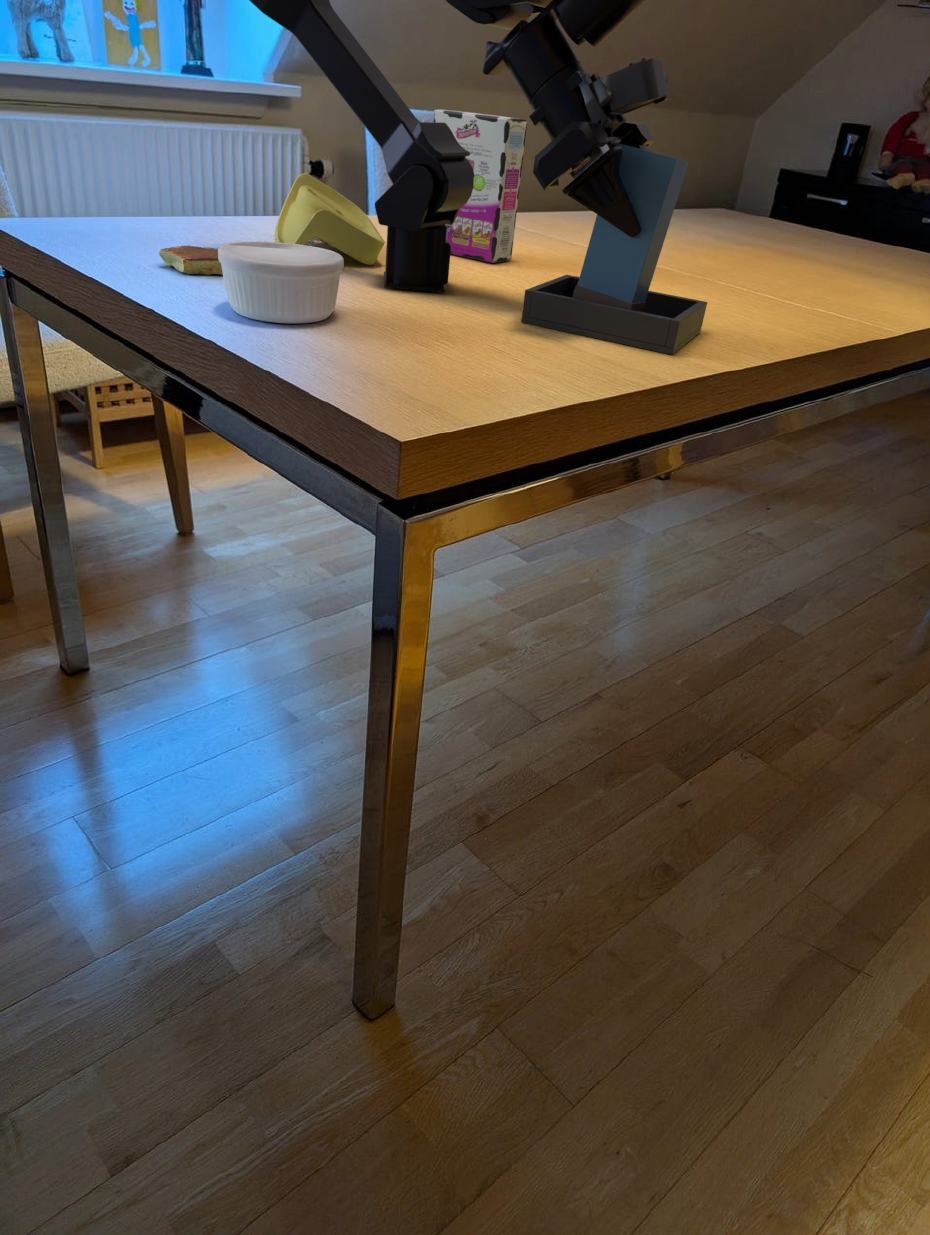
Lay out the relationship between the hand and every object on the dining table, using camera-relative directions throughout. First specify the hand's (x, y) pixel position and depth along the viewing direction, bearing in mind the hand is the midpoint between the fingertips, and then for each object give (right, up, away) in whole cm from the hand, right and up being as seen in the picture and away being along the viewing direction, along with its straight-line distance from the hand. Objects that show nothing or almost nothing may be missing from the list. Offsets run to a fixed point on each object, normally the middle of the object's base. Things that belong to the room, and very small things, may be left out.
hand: (643, 232), depth 85 cm
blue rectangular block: (-3, -6, +4) cm, 8 cm away
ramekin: (-34, -9, -3) cm, 35 cm away
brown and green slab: (-44, 0, +10) cm, 45 cm away
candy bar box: (-17, +11, +33) cm, 38 cm away
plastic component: (-34, +9, +25) cm, 43 cm away
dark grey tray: (-2, -7, +5) cm, 9 cm away
